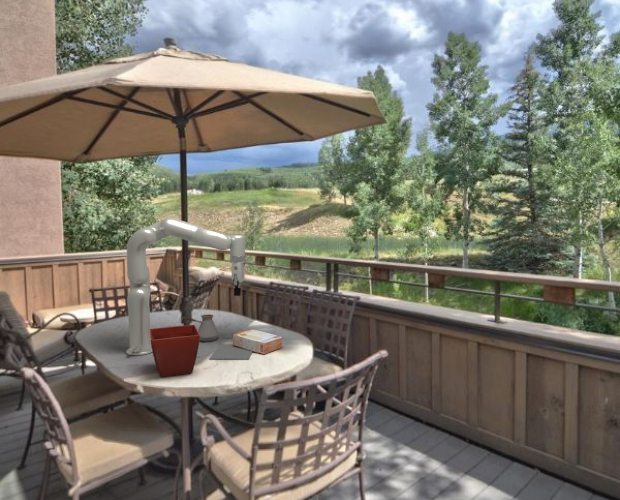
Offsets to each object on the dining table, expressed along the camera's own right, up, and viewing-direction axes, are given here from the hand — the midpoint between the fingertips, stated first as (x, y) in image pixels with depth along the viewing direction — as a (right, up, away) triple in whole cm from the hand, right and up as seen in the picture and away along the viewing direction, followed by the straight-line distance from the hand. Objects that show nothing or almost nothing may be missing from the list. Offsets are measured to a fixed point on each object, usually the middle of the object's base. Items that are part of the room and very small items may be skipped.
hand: (237, 295), depth 223 cm
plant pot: (-20, -28, -36) cm, 50 cm away
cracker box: (+2, -21, +1) cm, 21 cm away
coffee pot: (-21, -25, +5) cm, 33 cm away
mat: (0, -26, -12) cm, 29 cm away
